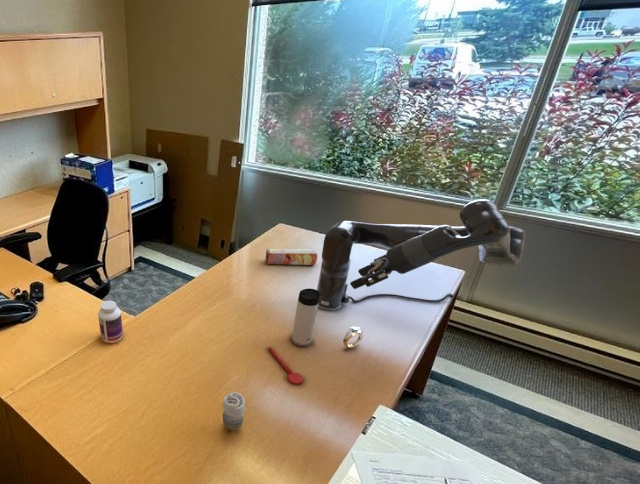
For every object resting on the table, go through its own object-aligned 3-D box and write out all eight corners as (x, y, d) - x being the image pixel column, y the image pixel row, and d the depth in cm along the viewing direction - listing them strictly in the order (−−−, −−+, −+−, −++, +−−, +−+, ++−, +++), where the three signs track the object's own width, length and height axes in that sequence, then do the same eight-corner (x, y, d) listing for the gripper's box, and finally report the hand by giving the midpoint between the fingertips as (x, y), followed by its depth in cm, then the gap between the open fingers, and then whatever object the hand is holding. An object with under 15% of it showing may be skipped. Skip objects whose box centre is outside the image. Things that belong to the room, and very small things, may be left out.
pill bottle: (126, 333, 152) (124, 300, 145) (117, 346, 146) (113, 313, 139) (107, 328, 155) (103, 296, 148) (97, 341, 149) (92, 308, 142)
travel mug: (313, 347, 139) (323, 298, 129) (292, 346, 140) (301, 296, 130) (310, 335, 144) (319, 287, 134) (290, 334, 146) (298, 286, 136)
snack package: (266, 265, 188) (267, 252, 185) (264, 258, 194) (266, 245, 190) (316, 267, 184) (318, 253, 181) (313, 260, 190) (315, 247, 186)
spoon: (263, 350, 139) (263, 347, 139) (275, 347, 140) (275, 345, 140) (292, 386, 125) (293, 383, 124) (305, 382, 126) (306, 380, 125)
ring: (356, 342, 140) (361, 323, 136) (363, 348, 137) (368, 329, 133) (338, 346, 139) (343, 327, 135) (345, 352, 136) (349, 333, 132)
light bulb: (218, 421, 115) (220, 390, 110) (238, 418, 116) (241, 387, 110) (224, 438, 111) (227, 406, 105) (245, 435, 111) (248, 404, 105)
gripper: (416, 277, 104) (357, 301, 116) (425, 255, 113) (370, 279, 126) (397, 253, 105) (340, 279, 117) (408, 233, 114) (354, 259, 126)
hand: (356, 279), depth 121 cm, fingers open, 8 cm apart
